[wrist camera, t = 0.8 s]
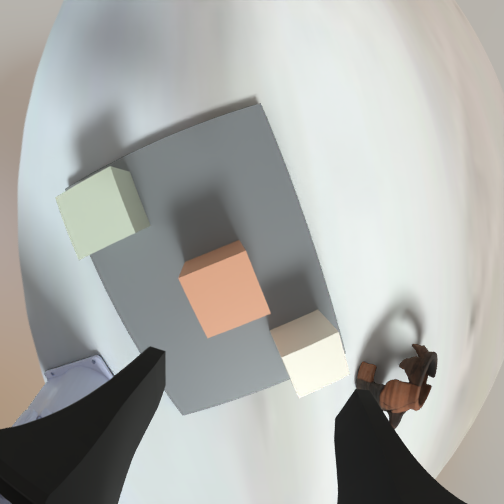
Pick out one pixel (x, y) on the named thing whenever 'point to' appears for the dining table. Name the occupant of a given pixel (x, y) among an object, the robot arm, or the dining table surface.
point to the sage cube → (101, 211)
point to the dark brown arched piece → (401, 384)
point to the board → (206, 240)
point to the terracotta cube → (223, 289)
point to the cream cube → (311, 352)
